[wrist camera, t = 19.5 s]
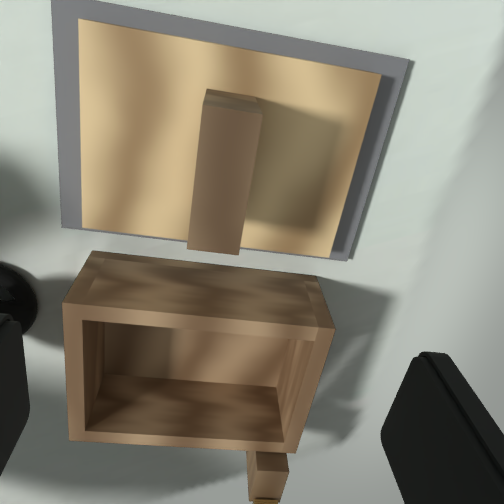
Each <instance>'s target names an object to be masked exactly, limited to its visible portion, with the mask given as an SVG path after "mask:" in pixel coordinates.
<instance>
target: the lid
mask: <svg viewBox="0 0 504 504" xmlns="http://www.w3.org/2000/svg"><path fill="white" fill-rule="evenodd" d="M78 32H79V84H80V137H81V189H82V228H89V229H97V230H105V231H113V232H122V233H130V234H138V235H146V236H154V237H163V238H171V239H179V240H187V241H188V242H187V249H190V250H198V251H207V252H215V253H223V254H232V255H239V250H240V247H245V248H253V249H261V250H269V251H277V252H285V253H294V254H302V255H310V256H318V257H326V258H329V256H330V253H331V249H332V246H333V242H334V239H335V235H336V232H337V228H338V225H339V221H340V218H341V214H342V211H343V207H344V204H345V200H346V197H347V193H348V190H349V187H350V183H351V180H352V176H353V173H354V169H355V166H356V162H357V159H358V155H359V152H360V148H361V145H362V141H363V138H364V134H365V131H366V128H367V124H368V121H369V117H370V114H371V110H372V107H373V103H374V100H375V96H376V93H377V89H378V86H379V82H380V79H381V74H378V73H375V72H370V71H364V70H359V69H353V68H348V67H343V66H337V65H332V64H326V63H321V62H316V61H310V60H305V59H299V58H294V57H289V56H283V55H278V54H272V53H267V52H261V51H256V50H251V49H245V48H240V47H234V46H229V45H224V44H218V43H213V42H207V41H202V40H197V39H191V38H186V37H180V36H175V35H169V34H164V33H159V32H153V31H148V30H142V29H137V28H132V27H126V26H121V25H115V24H110V23H104V22H99V21H94V20H88V19H78Z"/></svg>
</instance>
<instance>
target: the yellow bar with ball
mask: <svg viewBox="0 0 504 504" xmlns="http://www.w3.org/2000/svg"><path fill="white" fill-rule="evenodd" d="M253 504H278V500H265V499H254V501H253Z"/></svg>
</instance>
